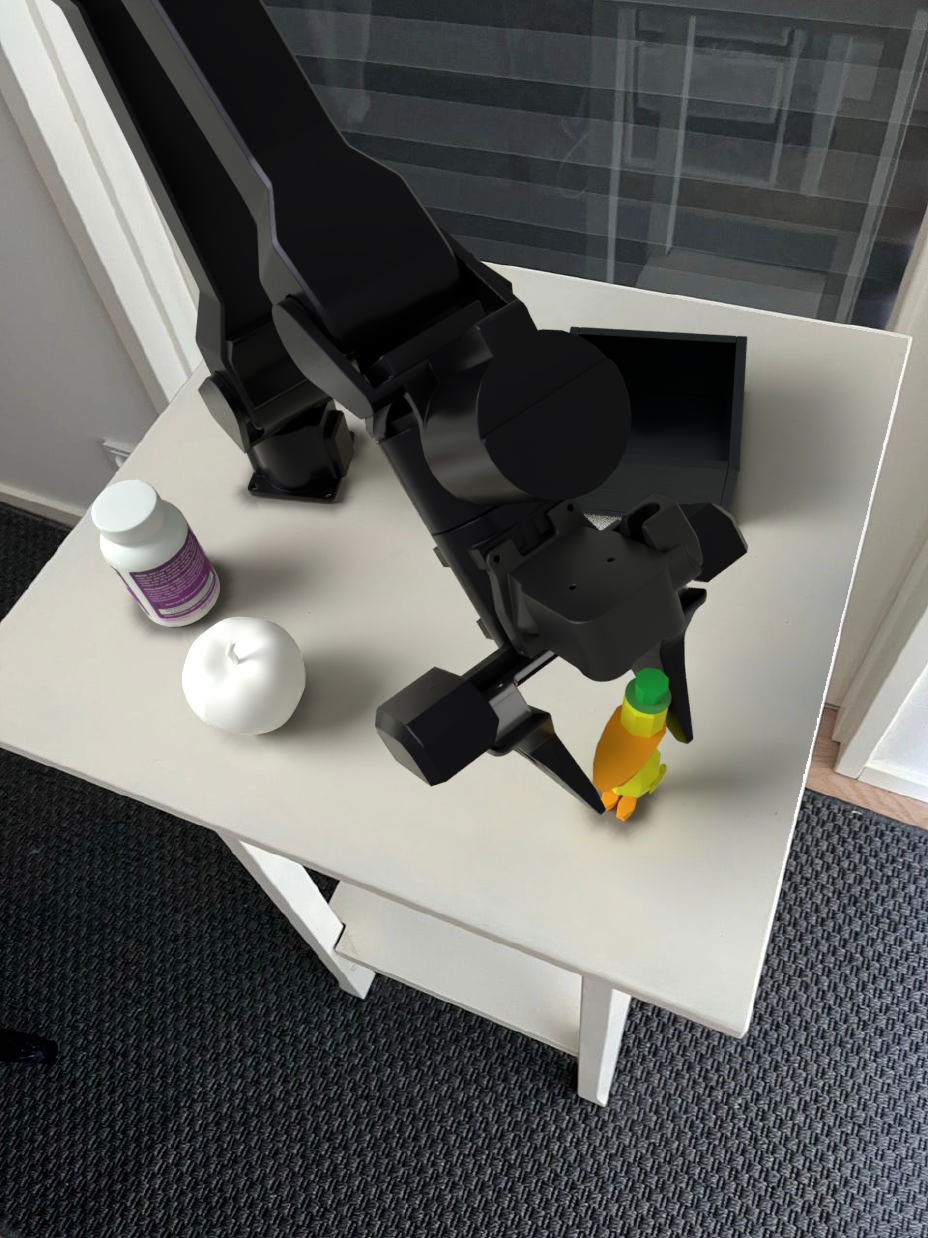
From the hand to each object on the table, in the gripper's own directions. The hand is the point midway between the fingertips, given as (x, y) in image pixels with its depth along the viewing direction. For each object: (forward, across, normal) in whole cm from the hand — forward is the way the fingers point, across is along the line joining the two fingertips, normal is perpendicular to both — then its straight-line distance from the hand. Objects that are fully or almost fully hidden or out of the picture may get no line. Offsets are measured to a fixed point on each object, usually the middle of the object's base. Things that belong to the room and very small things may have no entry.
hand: (642, 775), depth 45 cm
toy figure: (+4, 0, +6) cm, 7 cm away
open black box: (-9, +19, +18) cm, 28 cm away
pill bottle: (-17, -12, +26) cm, 34 cm away
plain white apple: (-9, -12, +19) cm, 24 cm away
